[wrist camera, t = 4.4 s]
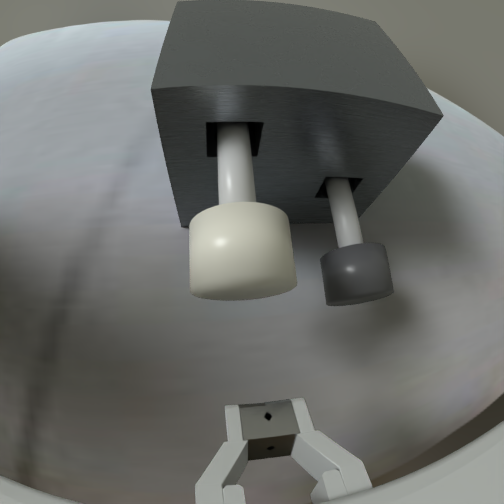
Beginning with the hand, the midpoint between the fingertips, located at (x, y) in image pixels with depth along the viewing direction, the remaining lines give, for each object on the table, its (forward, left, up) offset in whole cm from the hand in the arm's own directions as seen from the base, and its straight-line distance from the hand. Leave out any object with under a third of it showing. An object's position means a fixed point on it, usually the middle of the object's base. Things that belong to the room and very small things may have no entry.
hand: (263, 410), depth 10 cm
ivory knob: (+7, +7, -3) cm, 11 cm away
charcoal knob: (+13, +2, -8) cm, 15 cm away
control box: (+16, +11, -12) cm, 23 cm away
